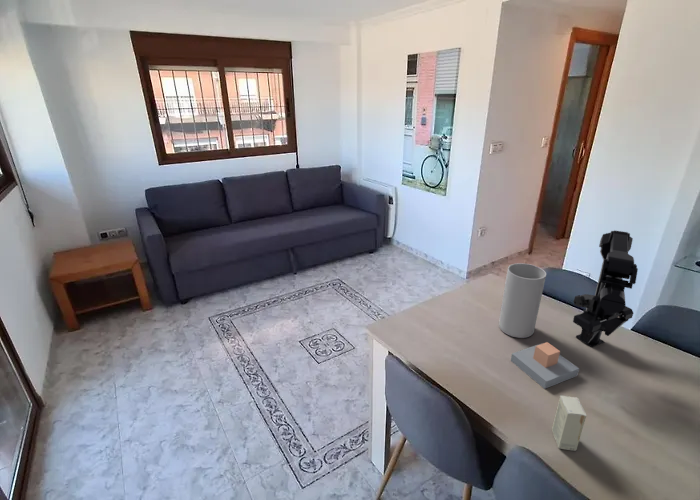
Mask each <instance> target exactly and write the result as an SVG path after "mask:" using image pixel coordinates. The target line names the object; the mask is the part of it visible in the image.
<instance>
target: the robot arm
mask: <svg viewBox="0 0 700 500" xmlns="http://www.w3.org/2000/svg"><path fill="white" fill-rule="evenodd" d="M633 241H634V240H633V237H631V233H629V232H628V231H622V230H615V229H614V230H611V231H610V232H606V233H603V234H602V235H601V238H600V241H599V245H598V247H599V248H600V250H599V253H600V255H601V258H602V264H601V269H600V272H599V277H598V280H597V285H596V288H595V293H594V294H589V293H588V294H587V293H583V294H581V295H575V296H574V299H573V301H572V302H573V305H574V306H576V307H577V308H585V310H583V311H582V313H579V314H576V315H574V316H573V319H572V322H573V324H575V325H577V326H579V327H580V329H581V333H579V334H576V335H575V338H576V339H578V340H580V341H581V342H582V343H584V344H586V345H587V346H589V347H591V348H593V347H596V346H599V345H601V344H604V343H605V341H604V340H603V339H601V336H602V333H603V332H604V335H605V336H606V337H609V336H610V335H612V334H613V333H614V332H615V331H616V330H617V329H619V328H620V327H621V326H622V325H624V324H625V323H626V322H628V321H629V320H630V319H632V318H633V315H634V311H633V309H632V308H630V307H629V306H626V296H625V295H626V294H625V288H627V289H633V285H635V284H636V283H637V282H636V281H637V275H638V270H639V269H638V265H637V263H635V258H634V257H633V255H630V254H629V252H630V250H631V249H632V244H633Z"/></svg>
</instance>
